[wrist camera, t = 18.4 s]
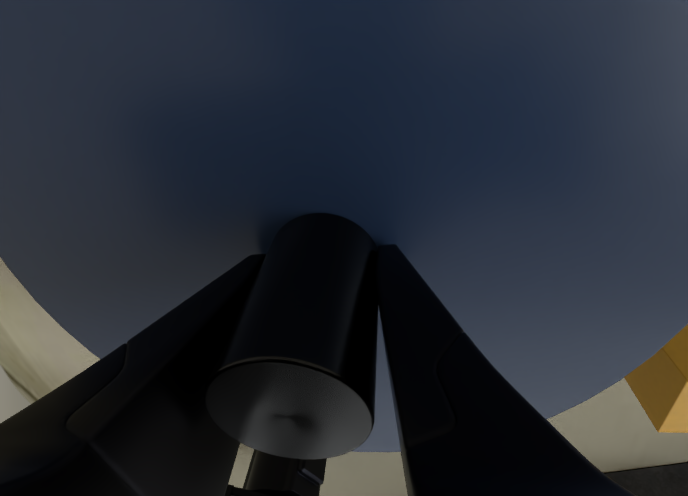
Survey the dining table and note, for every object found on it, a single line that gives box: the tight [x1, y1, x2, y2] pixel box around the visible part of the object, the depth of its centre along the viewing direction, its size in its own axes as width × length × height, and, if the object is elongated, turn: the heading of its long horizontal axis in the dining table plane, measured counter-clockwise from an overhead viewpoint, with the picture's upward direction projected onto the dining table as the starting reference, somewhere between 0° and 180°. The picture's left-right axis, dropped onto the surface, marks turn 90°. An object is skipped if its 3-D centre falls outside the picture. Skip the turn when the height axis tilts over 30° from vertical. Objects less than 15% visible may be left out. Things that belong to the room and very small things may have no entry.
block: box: [624, 324, 688, 433], centre depth 20 cm, size 4×4×7 cm
